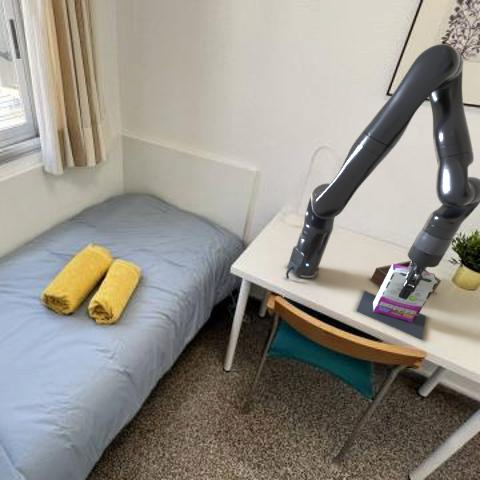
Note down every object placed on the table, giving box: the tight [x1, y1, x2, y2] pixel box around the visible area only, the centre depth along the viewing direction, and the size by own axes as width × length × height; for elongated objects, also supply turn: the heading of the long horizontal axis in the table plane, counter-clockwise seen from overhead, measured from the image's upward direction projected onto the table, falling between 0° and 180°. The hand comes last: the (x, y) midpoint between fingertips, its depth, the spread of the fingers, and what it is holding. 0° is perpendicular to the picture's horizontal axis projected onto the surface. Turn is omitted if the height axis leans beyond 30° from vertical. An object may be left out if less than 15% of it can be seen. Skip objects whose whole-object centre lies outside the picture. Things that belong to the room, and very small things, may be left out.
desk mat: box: [356, 290, 427, 340], centre depth 110 cm, size 12×18×1 cm, turn 52°
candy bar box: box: [373, 263, 438, 323], centre depth 106 cm, size 11×5×16 cm, turn 66°
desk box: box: [370, 260, 442, 294], centre depth 121 cm, size 17×12×6 cm
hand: (404, 290), depth 105 cm, fingers open, 7 cm apart
